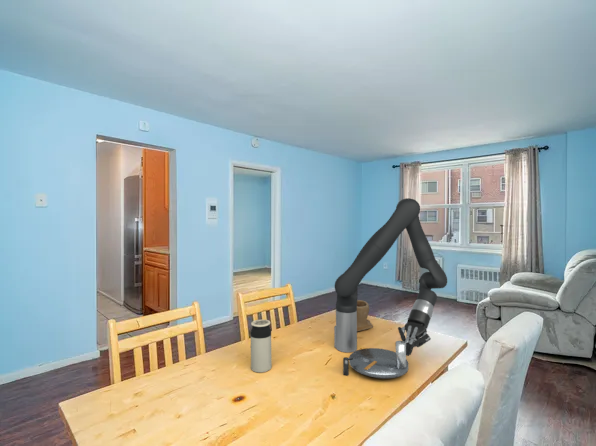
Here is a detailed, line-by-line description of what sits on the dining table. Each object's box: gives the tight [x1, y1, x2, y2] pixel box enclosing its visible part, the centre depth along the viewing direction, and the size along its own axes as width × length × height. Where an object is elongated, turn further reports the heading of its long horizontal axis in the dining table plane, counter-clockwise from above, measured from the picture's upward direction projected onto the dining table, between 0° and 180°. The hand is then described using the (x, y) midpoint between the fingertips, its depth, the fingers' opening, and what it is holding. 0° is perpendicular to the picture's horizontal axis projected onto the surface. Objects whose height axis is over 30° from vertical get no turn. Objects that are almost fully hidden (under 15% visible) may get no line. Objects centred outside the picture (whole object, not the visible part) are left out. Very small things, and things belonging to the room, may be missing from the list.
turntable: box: [348, 340, 409, 379], centre depth 122 cm, size 22×22×10 cm
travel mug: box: [250, 319, 273, 373], centre depth 124 cm, size 8×8×18 cm
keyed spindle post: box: [342, 356, 353, 377], centre depth 120 cm, size 13×19×6 cm, turn 131°
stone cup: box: [357, 299, 374, 332], centre depth 166 cm, size 15×12×15 cm
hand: (405, 354), depth 118 cm, fingers closed
